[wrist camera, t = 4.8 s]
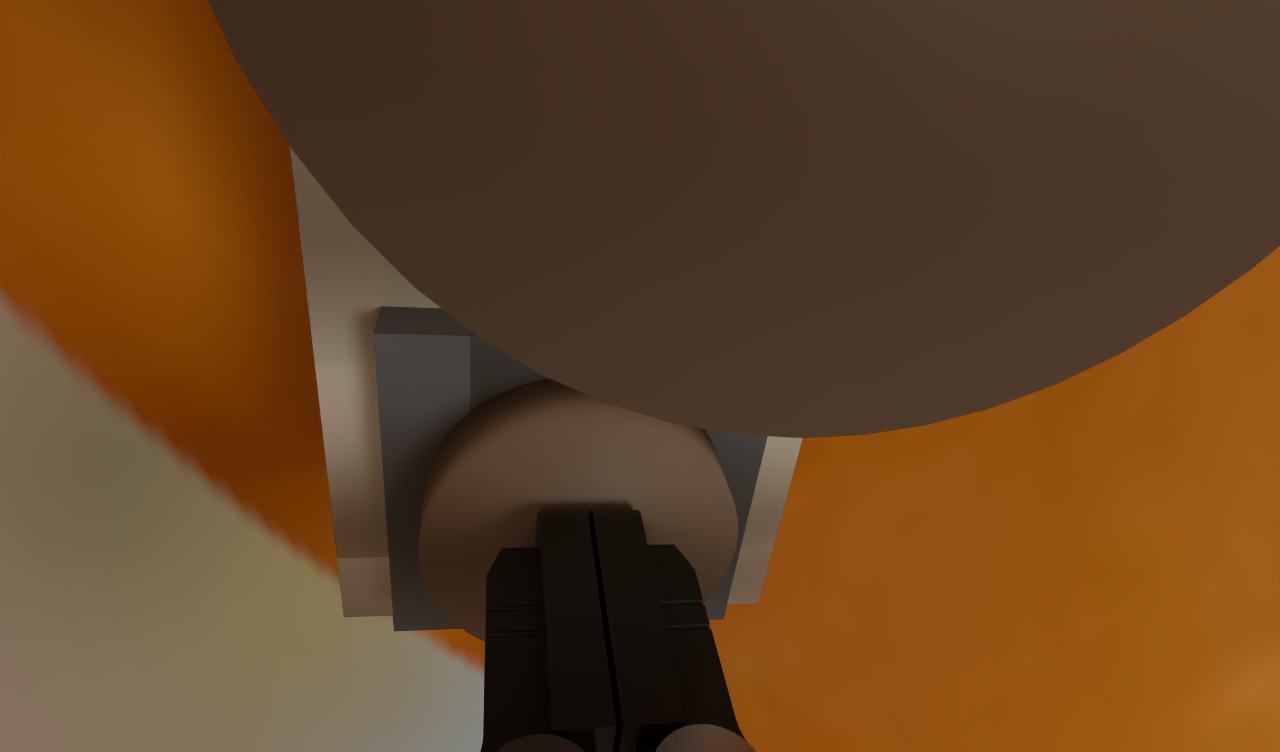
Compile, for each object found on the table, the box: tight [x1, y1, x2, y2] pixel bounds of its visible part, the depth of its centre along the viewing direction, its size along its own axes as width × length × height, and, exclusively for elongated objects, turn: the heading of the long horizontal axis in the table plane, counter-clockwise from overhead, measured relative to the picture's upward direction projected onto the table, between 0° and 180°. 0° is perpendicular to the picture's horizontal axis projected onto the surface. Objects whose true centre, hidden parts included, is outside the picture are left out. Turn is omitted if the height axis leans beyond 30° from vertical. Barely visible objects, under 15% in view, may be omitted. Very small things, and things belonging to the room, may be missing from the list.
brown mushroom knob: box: [418, 378, 738, 641], centre depth 15 cm, size 5×5×6 cm
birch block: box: [290, 147, 803, 631], centre depth 13 cm, size 16×8×6 cm, turn 173°
